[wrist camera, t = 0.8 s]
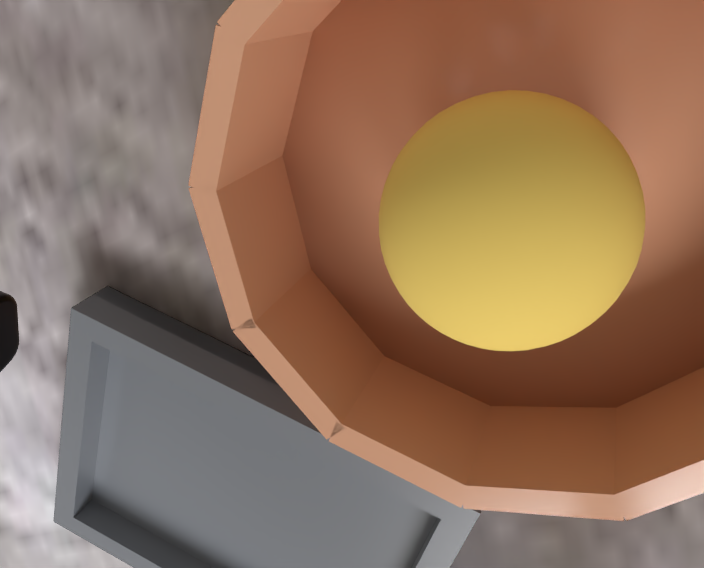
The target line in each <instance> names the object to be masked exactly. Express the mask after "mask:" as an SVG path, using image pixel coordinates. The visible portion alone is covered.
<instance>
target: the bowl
mask: <svg viewBox="0 0 704 568" xmlns="http://www.w3.org/2000/svg"><path fill="white" fill-rule="evenodd" d="M217 22H218V24H219V25H216V27H215V33H214V38H213V44H212V50H211V56H210V62H209V68H208V74H207V79H206V85H205V91H204V97H203V103H202V109H201V115H200V120H199V126H198V132H197V138H196V144H195V150H194V155H193V161H192V167H191V173H190V179H189V186H191V187H190V188H189V191H190V195H191V198H192V201H193V204H194V208H195V211H196V214H197V218H198V221H199V224H200V227H201V231H202V234H203V237H204V241H205V244H206V247H207V250H208V254H209V257H210V260H211V264H212V267H213V270H214V273H215V277H216V280H217V283H218V287H219V290H220V293H221V296H222V300H223V303H224V306H225V310H226V313H227V316H228V319H229V323H230V326H231V329H235V330H234V331H233V332H234V333H235V335H236V336H237V337H238V338H239V339H240V340H241V342H242V343H243V344H244V345H245V346H246V347H247V348H248V350H249V351H250V352H251V353H252V354H253V355H254V357H255V358H256V359H257V360H258V361H259V362H260V363H261V365H262V366H263V367H264V368H265V369H266V370H267V372H268V373H269V374H270V375H271V376H272V377H273V378H274V380H275V381H276V382H277V383H278V384H279V385H280V387H281V388H282V389H283V390H284V391H285V392H286V393H287V395H288V396H289V397H290V398H291V399H292V400H293V402H294V403H295V404H296V405H297V406H298V407H299V408H300V410H301V411H302V412H303V413H304V414H305V415H306V417H307V418H308V419H309V420H310V421H311V422H312V423H313V425H314V426H315V427H316V428H317V429H318V430H319V432H320V433H321V434H322V435H323V436H324V437H325V438H326V440H327V439H329V438H330V439H329V442H331V443H333V444H335V445H337V446H339V447H341V448H343V449H345V450H347V451H349V452H351V453H353V454H355V455H357V456H359V457H361V458H363V459H365V460H367V461H369V462H371V463H373V464H375V465H377V466H379V467H381V468H383V469H385V470H387V471H389V472H391V473H393V474H395V475H397V476H399V477H401V478H403V479H404V480H406V481H408V482H410V483H412V484H414V485H416V486H418V487H420V488H422V489H424V490H426V491H428V492H430V493H432V494H434V495H436V496H438V497H440V498H442V499H444V500H446V501H448V502H450V503H452V504H454V505H456V506H458V507H460V508H461V507H462V505H463V508H464V509H474V510H487V511H500V512H513V513H526V514H539V515H552V516H565V517H578V518H591V519H604V520H617V521H624V518H625V519H626V520H627V521H628V520H630V519H633V518H636V517H639V516H641V515H644V514H647V513H650V512H652V511H655V510H658V509H661V508H663V507H666V506H669V505H672V504H674V503H677V502H680V501H683V500H685V499H688V498H691V497H694V496H696V495H699V494H702V493H704V0H235V1H234V2H233V3H232V4H231V5H230V7H229V8H228V9H227V10H226V12H225V13H224V14H223V15H222V17H221V18H220V19H219V20H218V21H217ZM506 90H521V91H532V92H539V93H545V94H548V95H551V96H555V97H558V98H561V99H564V100H566V101H568V102H570V103H573V104H575V105H577V106H579V107H581V108H582V109H584V110H585V111H587V112H589V113H590V114H592V115H593V116H595V117H596V118H597V119H598V120H599V121H601V122H602V123H603V124H604V125H605V126H606V127H608V128H609V130H610V131H611V132H612V133H613V134H614V135H615V136H616V137H617V139H618V140H619V141H620V142H621V144H622V145H623V147H624V148H625V150H626V151H627V153H628V154H629V156H630V158H631V160H632V163H633V165H634V167H635V169H636V171H637V174H638V177H639V181H640V184H641V187H642V191H643V196H644V203H645V232H644V238H643V244H642V250H641V253H640V256H639V260H638V263H637V266H636V268H635V270H634V272H633V274H632V276H631V278H630V280H629V282H628V284H627V285H626V287H625V288H624V290H623V291H622V293H621V294H620V296H619V297H618V299H617V300H616V301H615V302H614V303H613V304H612V306H611V307H610V308H609V309H608V310H607V311H606V312H605V313H604V314H603V315H602V316H600V317H599V318H598V319H597V320H596V321H594V322H593V323H592V324H591V325H589V326H588V327H586V328H585V329H583V330H582V331H580V332H578V333H577V334H575V335H573V336H571V337H569V338H567V339H565V340H563V341H560V342H557V343H554V344H551V345H548V346H545V347H540V348H535V349H530V350H522V351H494V350H488V349H481V348H478V347H474V346H470V345H467V344H464V343H462V342H459V341H457V340H454V339H452V338H450V337H448V336H446V335H444V334H442V333H441V332H439V331H438V330H436V329H435V328H433V327H432V326H430V325H429V324H427V323H426V322H425V321H424V320H423V319H422V318H420V317H419V316H418V315H417V314H416V313H415V312H414V311H413V310H412V309H411V307H410V306H409V305H408V304H407V303H406V301H405V300H404V299H403V297H402V296H401V295H400V293H399V291H398V290H397V288H396V286H395V284H394V283H393V281H392V279H391V277H390V274H389V272H388V270H387V267H386V265H385V262H384V258H383V254H382V251H381V245H380V238H379V209H380V201H381V197H382V193H383V189H384V185H385V182H386V180H387V177H388V175H389V172H390V170H391V167H392V165H393V163H394V162H395V160H396V158H397V156H398V155H399V153H400V151H401V150H402V149H403V147H404V146H405V145H406V143H407V142H408V141H409V140H410V138H411V137H412V136H413V135H414V134H415V133H416V132H417V131H418V130H419V129H420V128H421V127H422V126H423V125H424V124H425V123H426V122H427V121H429V120H430V119H432V118H433V117H434V116H436V115H437V114H438V113H440V112H441V111H443V110H445V109H447V108H449V107H450V106H452V105H454V104H456V103H459V102H461V101H464V100H466V99H469V98H471V97H474V96H478V95H482V94H486V93H490V92H497V91H506Z"/></svg>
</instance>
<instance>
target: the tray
mask: <svg viewBox="0 0 704 568" xmlns="http://www.w3.org/2000/svg"><path fill="white" fill-rule="evenodd" d="M329 439H330V438H329ZM329 439H327V440H326V438H325V437H324V436H323V435H322V434H321V433H320V432H319V430H318V429H317V428H316V427H315V426H314V425H313V423H312V422H311V421H310V420H309V419H308V418H307V417H306V415H305V414H304V413H303V412H302V411H301V410H300V408H299V407H298V406H297V405H296V404H295V403H294V402H293V400H292V399H291V398H290V397H289V396H288V395H287V393H286V392H285V391H284V390H283V389H282V388H281V387H280V385H279V384H278V383H277V382H276V381H275V380H274V378H273V377H272V376H271V375H270V374H269V373H268V372H267V370H266V369H265V368H264V367H263V366H262V365H261V363H260V362H259V361H258V360H257V359H255V358H253V357H251V356H249V355H247V354H245V353H243V352H241V351H239V350H237V349H235V348H233V347H231V346H229V345H226V344H224V343H222V342H220V341H218V340H216V339H214V338H212V337H210V336H208V335H206V334H204V333H202V332H200V331H198V330H196V329H194V328H192V327H190V326H188V325H186V324H184V323H182V322H180V321H177V320H175V319H173V318H171V317H169V316H167V315H165V314H163V313H161V312H159V311H157V310H155V309H153V308H151V307H149V306H147V305H145V304H143V303H141V302H139V301H137V300H135V299H133V298H130V297H128V296H126V295H124V294H122V293H120V292H118V291H116V290H114V289H112V288H110V287H108V286H107V287H105V288H104V289H102V290H100V291H99V292H97V293H95V294H94V295H92V296H90V297H89V298H87V299H85V300H84V301H82V302H80V303H79V304H77V305H76V306H74V307H72V308H71V316H70V328H69V340H68V353H67V365H66V377H65V389H64V401H63V413H62V425H61V438H60V450H59V462H58V474H57V486H56V498H55V510H54V522H55V523H57V524H59V525H60V526H62V527H64V528H66V529H67V530H69V531H71V532H73V533H74V534H76V535H78V536H80V537H81V538H83V539H85V540H87V541H88V542H90V543H92V544H94V545H95V546H97V547H99V548H101V549H102V550H104V551H106V552H107V553H109V554H111V555H113V556H114V557H116V558H118V559H120V560H121V561H123V562H125V563H127V564H128V565H130V566H132V567H134V568H450V566H451V565H452V563H453V561H454V559H455V558H456V556H457V554H458V552H459V551H460V549H461V547H462V545H463V544H464V542H465V540H466V538H467V536H468V535H469V533H470V531H471V529H472V528H473V526H474V524H475V522H476V521H477V519H478V517H479V515H480V513H481V510H474V509H464V508H463V505H462V507H461V508H460V507H458V506H456V505H454V504H452V503H450V502H448V501H446V500H444V499H442V498H440V497H438V496H436V495H434V494H432V493H430V492H428V491H426V490H424V489H422V488H420V487H418V486H416V485H414V484H412V483H410V482H408V481H406V480H404V479H403V478H401V477H399V476H397V475H395V474H393V473H391V472H389V471H387V470H385V469H383V468H381V467H379V466H377V465H375V464H373V463H371V462H369V461H367V460H365V459H363V458H361V457H359V456H357V455H355V454H353V453H351V452H349V451H347V450H345V449H343V448H341V447H339V446H337V445H335V444H333V443H331V442H329Z"/></svg>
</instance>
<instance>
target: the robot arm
mask: <svg viewBox="0 0 704 568" xmlns="http://www.w3.org/2000/svg"><path fill="white" fill-rule="evenodd" d="M18 345H19V331H18V314H17V304H16V301H15V300H14V298H13V297H12V296H11V295H9V294H6V293H4V292H2V291H0V372H1V371H2V370H3V369H4V368H5V366H6V365H7V364H8V363H9V362H10V361H11V360H12V358H13V357H14V355H15V354H16V352H17V349H18Z"/></svg>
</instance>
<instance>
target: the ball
mask: <svg viewBox="0 0 704 568" xmlns="http://www.w3.org/2000/svg"><path fill="white" fill-rule="evenodd" d="M644 232H645V203H644V196H643V191H642V187H641V184H640V181H639V177H638V174H637V171H636V169H635V167H634V165H633V163H632V160H631V158H630V156H629V154H628V153H627V151H626V150H625V148H624V147H623V145H622V144H621V142H620V141H619V140H618V139H617V137H616V136H615V135H614V134H613V133H612V132H611V131H610V130H609V128H608V127H606V126H605V125H604V124H603V123H602V122H601V121H599V120H598V119H597V118H596V117H595V116H593V115H592V114H590V113H589V112H587V111H585V110H584V109H582V108H581V107H579V106H577V105H575V104H573V103H570V102H568V101H566V100H564V99H561V98H558V97H555V96H551V95H548V94H545V93H539V92H532V91H521V90H506V91H497V92H490V93H486V94H482V95H478V96H474V97H471V98H469V99H466V100H464V101H461V102H459V103H456V104H454V105H452V106H450V107H449V108H447V109H445V110H443V111H441V112H440V113H438V114H437V115H436V116H434V117H433V118H432V119H430V120H429V121H427V122H426V123H425V124H424V125H423V126H422V127H421V128H420V129H419V130H418V131H417V132H416V133H415V134H414V135H413V136H412V137H411V138H410V140H409V141H408V142H407V143H406V145H405V146H404V147H403V149H402V150H401V151H400V153H399V155H398V156H397V158H396V160H395V162H394V163H393V165H392V167H391V170H390V172H389V175H388V177H387V180H386V182H385V185H384V189H383V193H382V197H381V201H380V209H379V238H380V245H381V251H382V254H383V258H384V262H385V265H386V267H387V270H388V272H389V274H390V277H391V279H392V281H393V283H394V284H395V286H396V288H397V290H398V291H399V293H400V295H401V296H402V297H403V299H404V300H405V301H406V303H407V304H408V305H409V306H410V307H411V309H412V310H413V311H414V312H415V313H416V314H417V315H418V316H419V317H420V318H422V319H423V320H424V321H425V322H426V323H427V324H429V325H430V326H432V327H433V328H435V329H436V330H438V331H439V332H441V333H442V334H444V335H446V336H448V337H450V338H452V339H454V340H457V341H459V342H462V343H464V344H467V345H470V346H474V347H478V348H481V349H488V350H494V351H522V350H530V349H535V348H540V347H545V346H548V345H551V344H554V343H557V342H560V341H563V340H565V339H567V338H569V337H571V336H573V335H575V334H577V333H578V332H580V331H582V330H583V329H585V328H586V327H588V326H589V325H591V324H592V323H593V322H594V321H596V320H597V319H598V318H599V317H600V316H602V315H603V314H604V313H605V312H606V311H607V310H608V309H609V308H610V307H611V306H612V304H613V303H614V302H615V301H616V300H617V299H618V297H619V296H620V294H621V293H622V291H623V290H624V288H625V287H626V285H627V284H628V282H629V280H630V278H631V276H632V274H633V272H634V270H635V268H636V266H637V263H638V260H639V256H640V253H641V250H642V244H643V238H644Z"/></svg>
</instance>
